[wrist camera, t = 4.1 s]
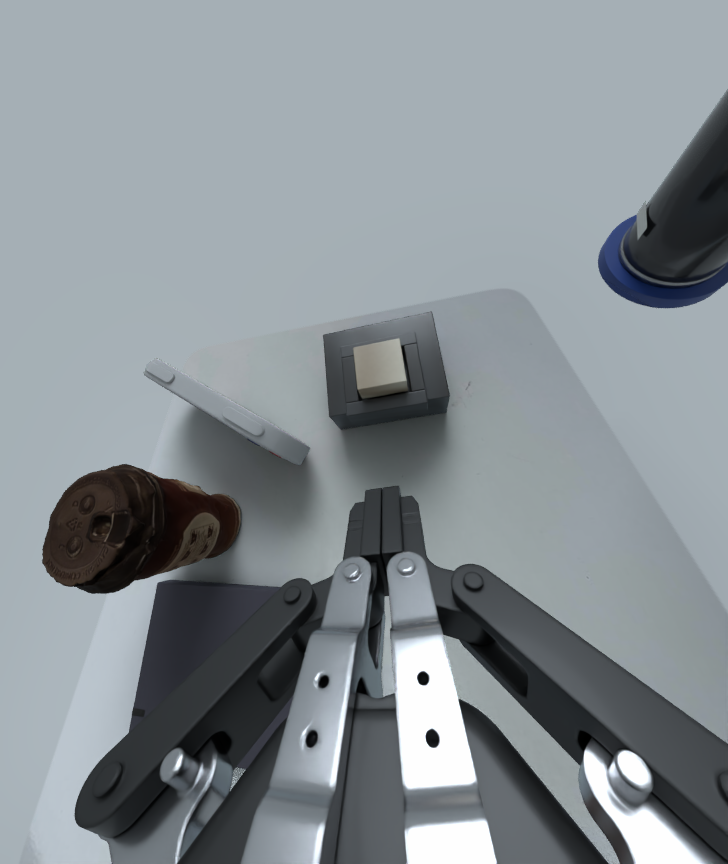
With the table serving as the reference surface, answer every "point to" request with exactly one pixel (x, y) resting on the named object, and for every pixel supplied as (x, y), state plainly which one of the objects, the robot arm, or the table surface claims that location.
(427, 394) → the key block
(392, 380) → the ivory key
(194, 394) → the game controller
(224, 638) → the notebook
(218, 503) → the coffee cup
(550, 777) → the table surface
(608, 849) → the table surface
